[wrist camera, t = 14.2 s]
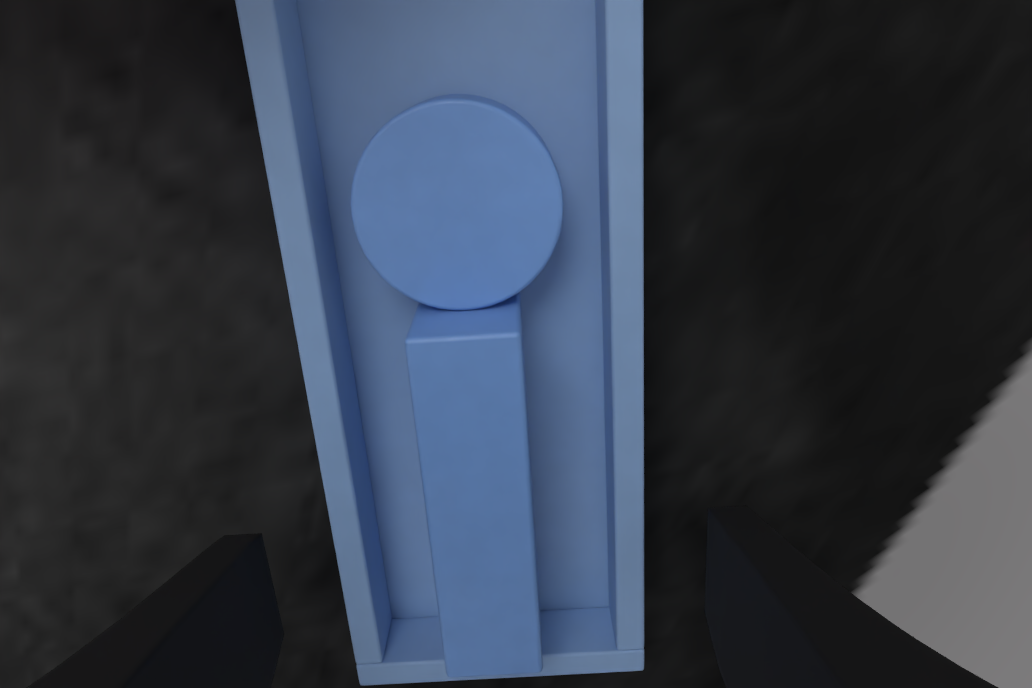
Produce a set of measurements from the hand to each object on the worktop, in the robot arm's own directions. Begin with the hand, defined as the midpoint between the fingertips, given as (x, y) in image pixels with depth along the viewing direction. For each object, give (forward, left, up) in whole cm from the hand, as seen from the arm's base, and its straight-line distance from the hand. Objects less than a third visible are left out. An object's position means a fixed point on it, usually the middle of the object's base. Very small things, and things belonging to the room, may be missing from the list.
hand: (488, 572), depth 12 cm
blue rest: (+3, -3, -2) cm, 5 cm away
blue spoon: (+2, -2, -2) cm, 4 cm away
